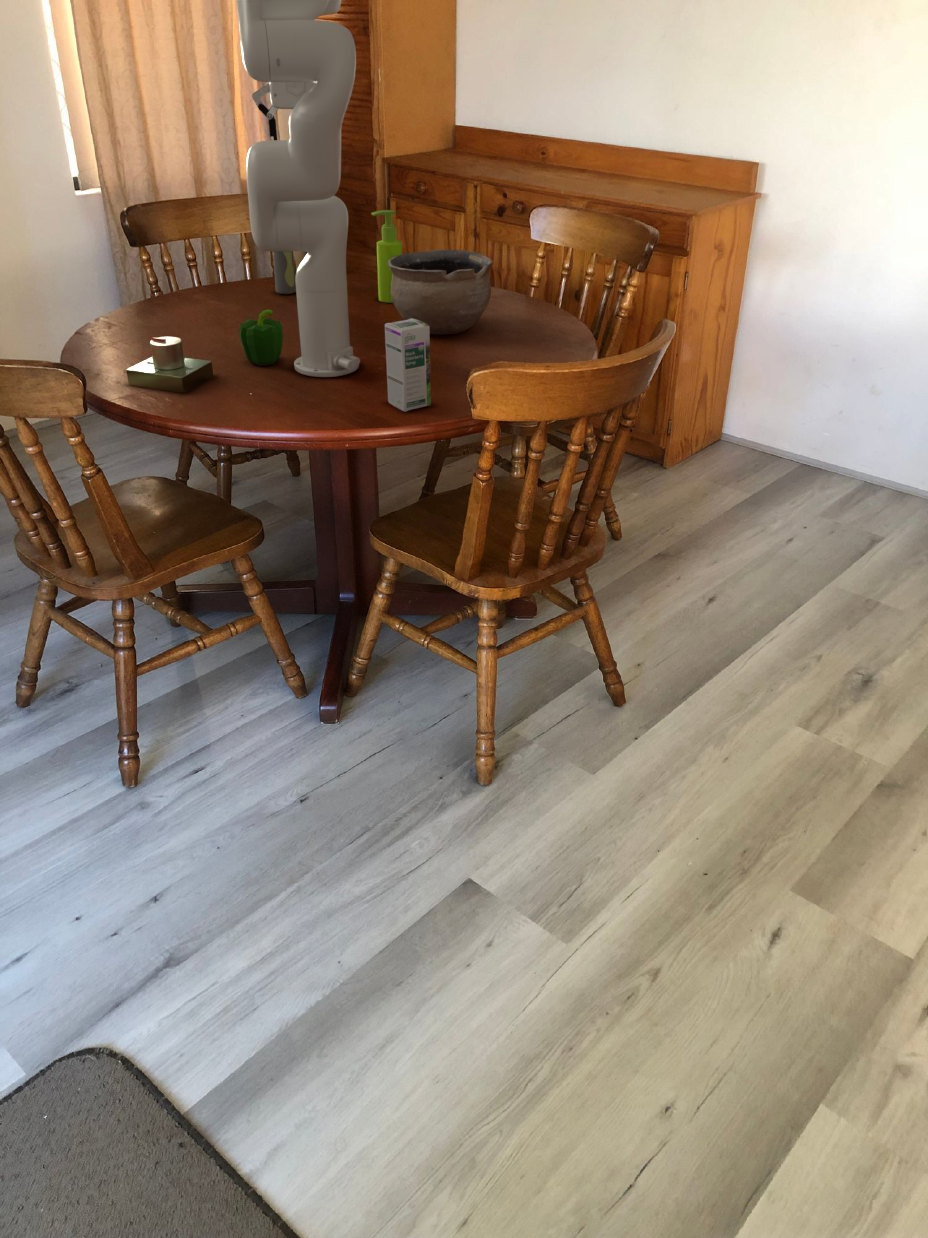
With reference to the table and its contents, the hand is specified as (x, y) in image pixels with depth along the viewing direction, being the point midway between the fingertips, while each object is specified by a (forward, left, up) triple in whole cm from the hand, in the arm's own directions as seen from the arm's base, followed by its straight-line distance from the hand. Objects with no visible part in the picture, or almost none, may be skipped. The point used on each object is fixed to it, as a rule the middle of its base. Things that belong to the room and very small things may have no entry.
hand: (299, 140), depth 196 cm
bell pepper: (-16, +24, -37) cm, 47 cm away
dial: (-13, +43, -34) cm, 56 cm away
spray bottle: (+24, -11, -37) cm, 45 cm away
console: (-13, +43, -37) cm, 58 cm away
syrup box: (-53, +19, -37) cm, 67 cm away
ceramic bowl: (-24, -17, -37) cm, 47 cm away
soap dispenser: (+2, -25, -37) cm, 44 cm away
